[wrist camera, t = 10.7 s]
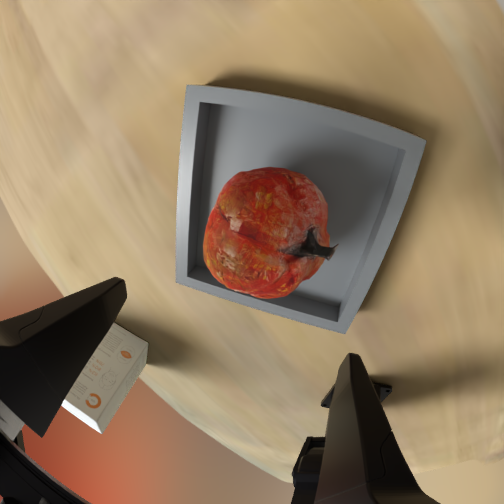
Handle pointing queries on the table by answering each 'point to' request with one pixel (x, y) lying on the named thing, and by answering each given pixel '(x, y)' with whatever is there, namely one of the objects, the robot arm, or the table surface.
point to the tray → (315, 169)
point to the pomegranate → (267, 232)
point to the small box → (107, 378)
